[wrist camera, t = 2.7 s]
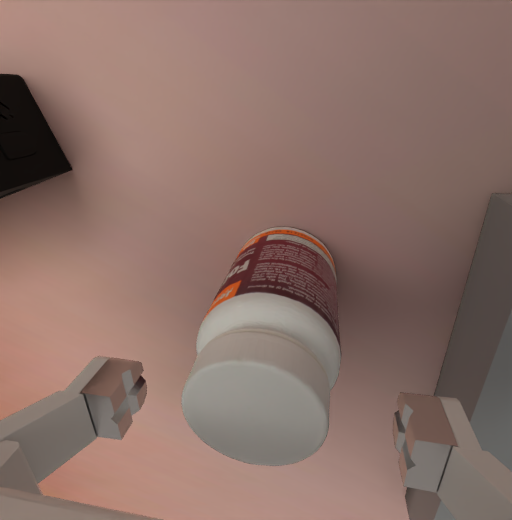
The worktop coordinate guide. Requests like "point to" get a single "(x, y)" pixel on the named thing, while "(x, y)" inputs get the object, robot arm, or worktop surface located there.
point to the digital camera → (25, 140)
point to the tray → (480, 351)
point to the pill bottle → (268, 352)
